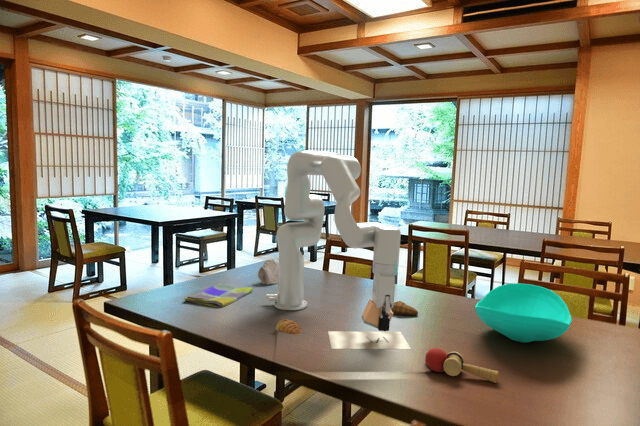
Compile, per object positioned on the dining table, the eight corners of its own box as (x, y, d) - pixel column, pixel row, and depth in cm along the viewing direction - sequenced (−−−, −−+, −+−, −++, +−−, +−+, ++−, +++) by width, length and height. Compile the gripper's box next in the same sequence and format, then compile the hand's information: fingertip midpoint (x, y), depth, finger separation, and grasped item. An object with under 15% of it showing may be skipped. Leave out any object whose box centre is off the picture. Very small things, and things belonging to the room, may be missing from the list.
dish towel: (254, 293, 180) (255, 286, 180) (220, 310, 158) (220, 302, 158) (220, 287, 187) (220, 281, 187) (181, 303, 165) (181, 296, 164)
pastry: (307, 336, 135) (307, 324, 135) (289, 341, 131) (290, 329, 131) (290, 327, 142) (290, 316, 142) (273, 332, 138) (273, 320, 138)
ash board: (331, 353, 123) (331, 348, 122) (327, 335, 136) (328, 331, 135) (411, 354, 124) (411, 348, 124) (400, 336, 137) (400, 331, 137)
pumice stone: (267, 286, 189) (267, 264, 188) (254, 283, 193) (254, 261, 192) (289, 280, 201) (289, 259, 200) (276, 277, 205) (277, 256, 204)
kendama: (495, 379, 113) (426, 357, 120) (500, 359, 111) (430, 337, 118) (493, 398, 107) (421, 373, 113) (499, 377, 104) (425, 353, 111)
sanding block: (363, 322, 127) (372, 304, 126) (361, 316, 132) (369, 299, 131) (385, 331, 128) (393, 313, 127) (381, 325, 133) (389, 307, 132)
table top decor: (566, 373, 115) (571, 325, 113) (460, 348, 129) (463, 305, 128) (571, 328, 148) (574, 291, 147) (486, 312, 163) (489, 278, 161)
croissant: (379, 314, 158) (379, 301, 158) (383, 308, 164) (383, 296, 164) (416, 319, 154) (417, 306, 153) (419, 313, 160) (419, 300, 159)
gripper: (368, 260, 136) (364, 316, 138) (378, 275, 119) (374, 338, 121) (391, 261, 136) (387, 316, 139) (405, 276, 120) (400, 338, 122)
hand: (381, 326), depth 130 cm, fingers closed on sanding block, 5 cm apart
